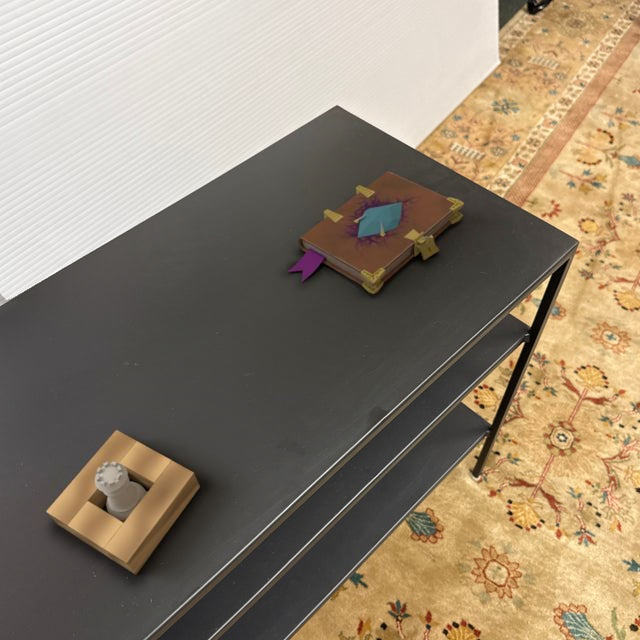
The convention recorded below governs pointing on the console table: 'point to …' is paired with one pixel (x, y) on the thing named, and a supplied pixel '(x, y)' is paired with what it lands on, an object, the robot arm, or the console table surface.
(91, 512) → the square wooden frame
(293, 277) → the console table surface
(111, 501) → the rook chess piece
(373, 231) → the book
